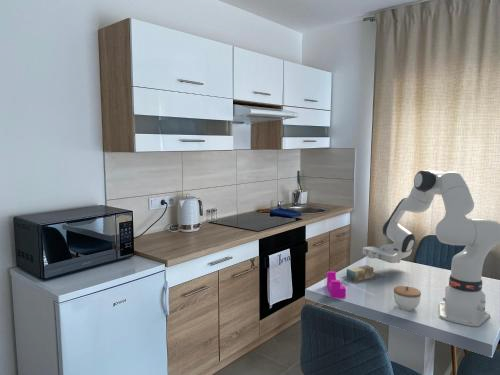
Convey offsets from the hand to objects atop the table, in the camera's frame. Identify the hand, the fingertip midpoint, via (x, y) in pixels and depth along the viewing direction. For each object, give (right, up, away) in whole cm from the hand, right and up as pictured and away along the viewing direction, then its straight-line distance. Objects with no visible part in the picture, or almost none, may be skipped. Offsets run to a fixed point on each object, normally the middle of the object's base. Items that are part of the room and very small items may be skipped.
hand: (369, 256), depth 199 cm
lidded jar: (+4, -15, -38) cm, 41 cm away
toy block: (-22, -13, -20) cm, 33 cm away
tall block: (0, -8, +1) cm, 8 cm away
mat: (-3, -11, -1) cm, 12 cm away
